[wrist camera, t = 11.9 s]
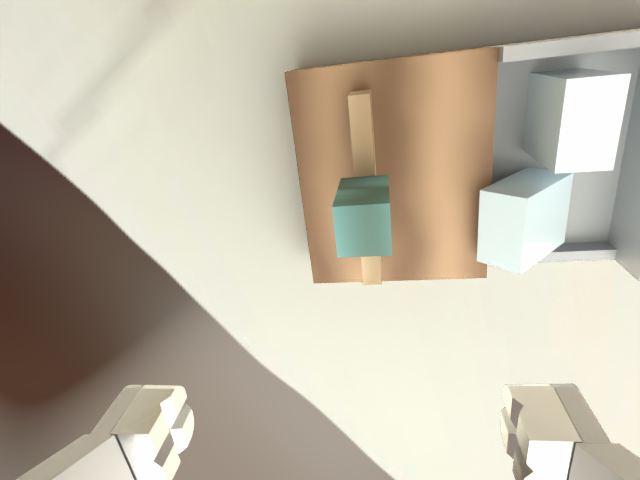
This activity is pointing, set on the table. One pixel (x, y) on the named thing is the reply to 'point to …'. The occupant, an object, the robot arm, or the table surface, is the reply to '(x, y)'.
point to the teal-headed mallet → (363, 197)
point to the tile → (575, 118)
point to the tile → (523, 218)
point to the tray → (587, 187)
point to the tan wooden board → (401, 157)
